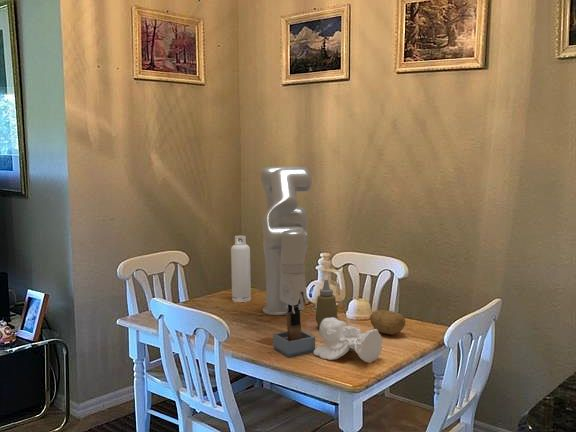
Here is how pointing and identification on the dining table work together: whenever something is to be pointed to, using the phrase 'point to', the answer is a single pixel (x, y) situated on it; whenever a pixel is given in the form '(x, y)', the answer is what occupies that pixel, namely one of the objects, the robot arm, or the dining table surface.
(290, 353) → the grey open storage bin
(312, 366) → the dining table surface
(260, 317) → the dining table surface
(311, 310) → the dining table surface
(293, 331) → the brown rectangular block
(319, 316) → the squeeze bottle
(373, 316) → the potato
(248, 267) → the bottle
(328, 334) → the cherub figurine
